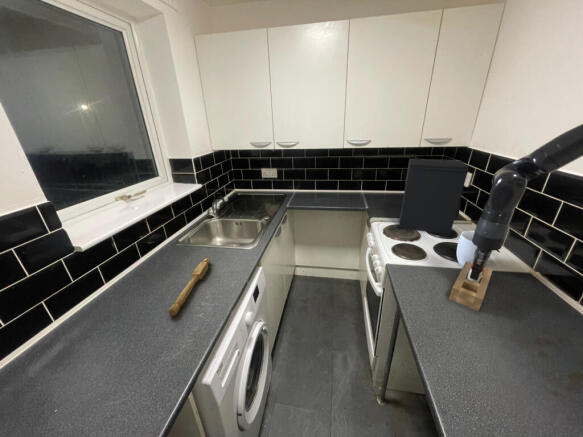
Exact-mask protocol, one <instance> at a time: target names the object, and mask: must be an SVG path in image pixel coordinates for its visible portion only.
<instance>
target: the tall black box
mask: <svg viewBox="0 0 583 437" xmlns="http://www.w3.org/2000/svg"><path fill="white" fill-rule="evenodd" d="M468 172H469V166H468V165H467V164H466V163H464V162H463V161H462V160H454V159H451V160H450V159H445V158H444V159H443V158H441V159H423V158H422V159H421V158H419V157H418V158H417V157H416V158H409V159H408V166H407V171H406V176H405V187H404V192H403V198H402V204H401V210H400V211H399V219H398V222H399V223H398V228H399V229H405V230H413V231H420V232H426V233H433V234H434V233H435V234H441V235H448V236H450V235H451V233H452V229H453V227H454V226H453V225H454V222H455V219H456V218H459V216H460V210H461V197H462V194H463V190H464V186H465V183H466V179H467V176H468Z"/></svg>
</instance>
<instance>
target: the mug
mask: <svg viewBox="0 0 583 437" xmlns="http://www.w3.org/2000/svg"><path fill="white" fill-rule="evenodd" d="M474 232H475V230H465V231H462V232H461V233H460V236H459V239H458V242H457V246H456V259H457V262H458V263H459V265H460V266H462V267H463V266H464V264H465V262H466V261H467V262H470V263H472V262H473V259H474V256H475V255H474V253H475V250H476V249H477V246H476V245H474V244H473V243H472V238H473V235H474ZM493 251H494V250H492V252H491V255H492V254H493Z"/></svg>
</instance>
